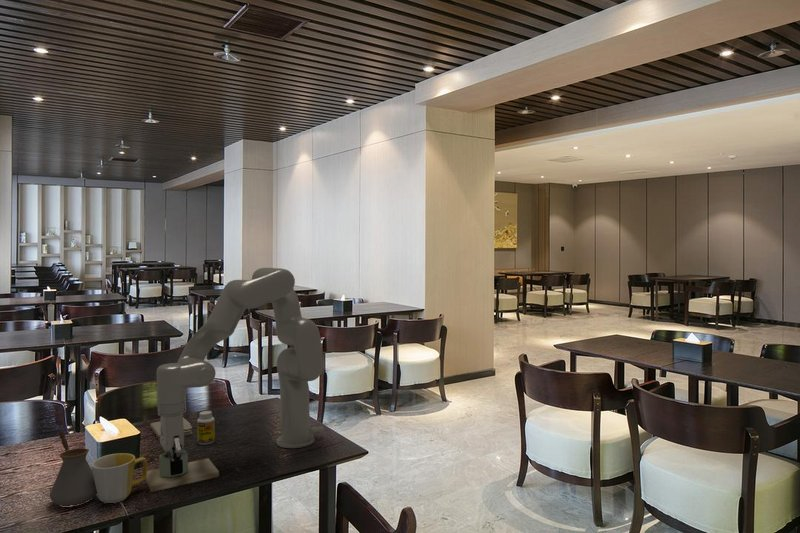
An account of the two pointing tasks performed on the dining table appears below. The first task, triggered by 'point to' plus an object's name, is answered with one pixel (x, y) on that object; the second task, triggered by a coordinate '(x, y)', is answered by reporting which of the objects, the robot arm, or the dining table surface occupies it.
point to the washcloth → (186, 426)
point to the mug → (116, 476)
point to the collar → (165, 464)
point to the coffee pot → (73, 477)
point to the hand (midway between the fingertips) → (174, 468)
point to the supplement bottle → (205, 428)
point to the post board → (194, 474)
